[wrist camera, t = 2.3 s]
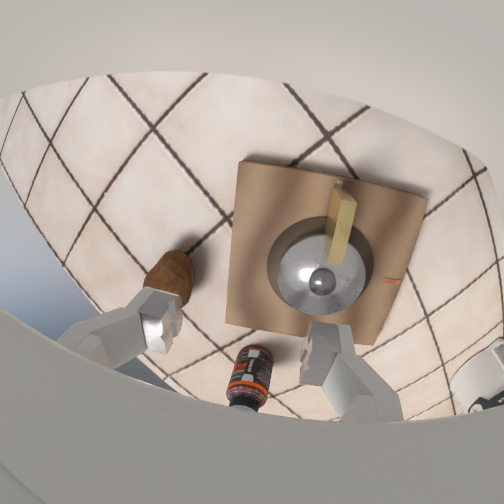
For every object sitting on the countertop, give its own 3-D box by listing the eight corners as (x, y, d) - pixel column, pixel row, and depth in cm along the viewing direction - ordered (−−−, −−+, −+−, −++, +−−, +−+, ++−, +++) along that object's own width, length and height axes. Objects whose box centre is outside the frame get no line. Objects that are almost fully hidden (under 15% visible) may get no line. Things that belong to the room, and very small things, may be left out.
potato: (213, 256, 36) (194, 283, 30) (185, 312, 41) (167, 341, 35) (169, 231, 35) (144, 253, 29) (148, 291, 40) (126, 317, 34)
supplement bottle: (246, 339, 41) (230, 396, 31) (280, 353, 41) (272, 411, 31) (232, 360, 44) (215, 413, 33) (264, 373, 44) (253, 426, 34)
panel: (421, 195, 28) (428, 200, 26) (371, 336, 37) (373, 346, 35) (242, 160, 30) (238, 162, 28) (228, 314, 39) (225, 324, 37)
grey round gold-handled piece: (348, 310, 33) (355, 342, 27) (273, 298, 34) (267, 329, 29) (382, 197, 26) (401, 213, 21) (293, 179, 27) (291, 190, 22)
